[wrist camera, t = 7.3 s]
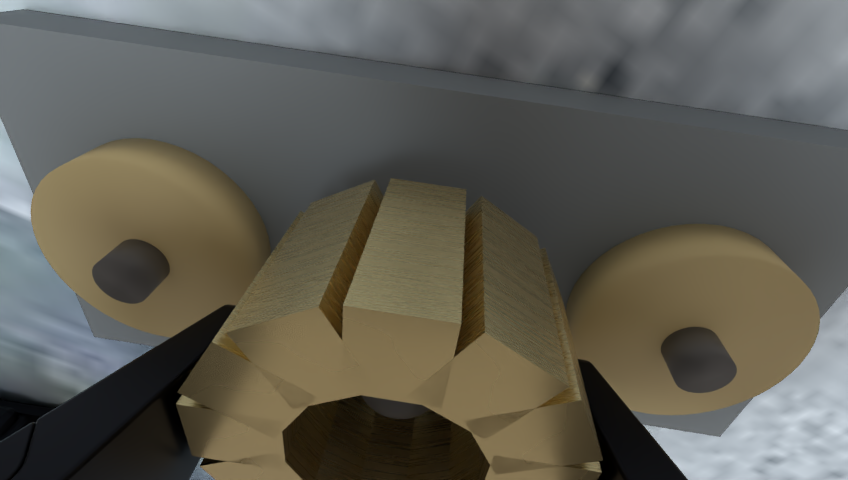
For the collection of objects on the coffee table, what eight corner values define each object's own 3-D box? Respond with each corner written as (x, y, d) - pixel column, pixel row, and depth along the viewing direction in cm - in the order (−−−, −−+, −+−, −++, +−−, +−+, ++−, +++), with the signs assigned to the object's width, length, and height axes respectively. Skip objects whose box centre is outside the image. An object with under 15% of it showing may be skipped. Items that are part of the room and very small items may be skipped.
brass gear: (519, 419, 12) (534, 578, 9) (279, 381, 12) (214, 525, 9) (602, 209, 8) (676, 356, 5) (257, 157, 8) (134, 273, 5)
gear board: (699, 395, 15) (800, 598, 10) (126, 304, 15) (-29, 460, 10) (889, 136, 10) (1268, 303, 5) (23, 9, 10) (-366, 57, 5)
